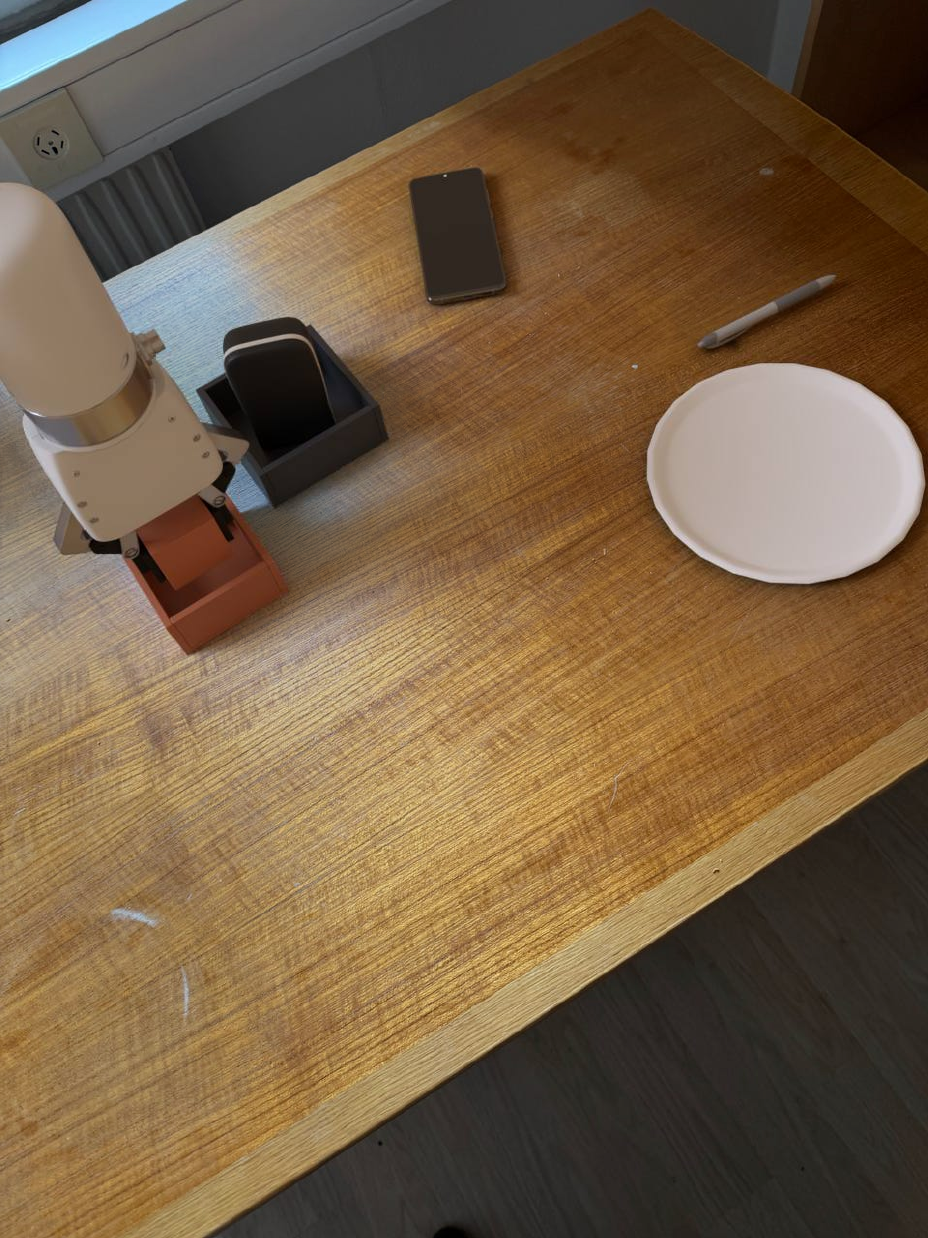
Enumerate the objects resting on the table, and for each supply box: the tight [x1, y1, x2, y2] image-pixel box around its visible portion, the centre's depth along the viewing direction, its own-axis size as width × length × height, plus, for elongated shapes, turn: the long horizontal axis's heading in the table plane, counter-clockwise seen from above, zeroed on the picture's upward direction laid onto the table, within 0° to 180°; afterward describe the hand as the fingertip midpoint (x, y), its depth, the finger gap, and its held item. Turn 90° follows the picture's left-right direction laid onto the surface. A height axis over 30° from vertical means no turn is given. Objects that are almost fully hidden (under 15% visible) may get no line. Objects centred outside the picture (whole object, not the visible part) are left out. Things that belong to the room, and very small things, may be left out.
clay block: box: [136, 494, 234, 590], centre depth 75 cm, size 5×5×5 cm
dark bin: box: [195, 323, 390, 509], centre depth 86 cm, size 11×11×4 cm
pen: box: [697, 274, 837, 350], centre depth 88 cm, size 1×14×1 cm, turn 119°
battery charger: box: [222, 316, 337, 450], centre depth 83 cm, size 7×4×11 cm, turn 101°
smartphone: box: [408, 166, 508, 306], centre depth 96 cm, size 7×1×16 cm
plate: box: [646, 362, 926, 586], centre depth 80 cm, size 21×21×1 cm
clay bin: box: [119, 492, 290, 655], centre depth 80 cm, size 9×9×4 cm
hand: (188, 546), depth 77 cm, fingers closed on clay block, 5 cm apart
